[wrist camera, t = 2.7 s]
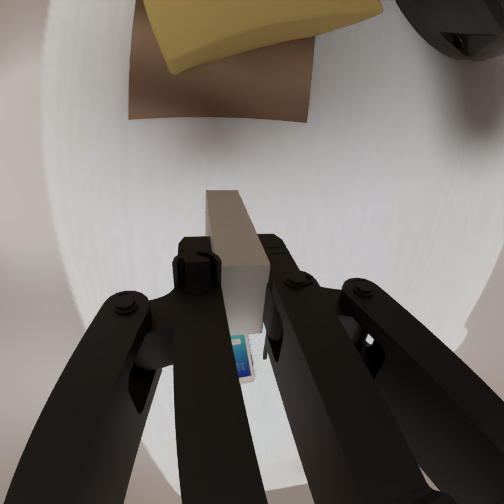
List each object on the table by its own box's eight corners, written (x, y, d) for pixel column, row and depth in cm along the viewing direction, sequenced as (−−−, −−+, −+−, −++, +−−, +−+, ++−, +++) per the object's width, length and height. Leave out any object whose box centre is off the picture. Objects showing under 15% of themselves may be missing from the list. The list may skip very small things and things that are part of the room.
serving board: (149, -62, 11) (148, -65, 10) (317, -50, 13) (319, -53, 13) (130, 118, 19) (128, 119, 18) (303, 121, 21) (306, 122, 21)
